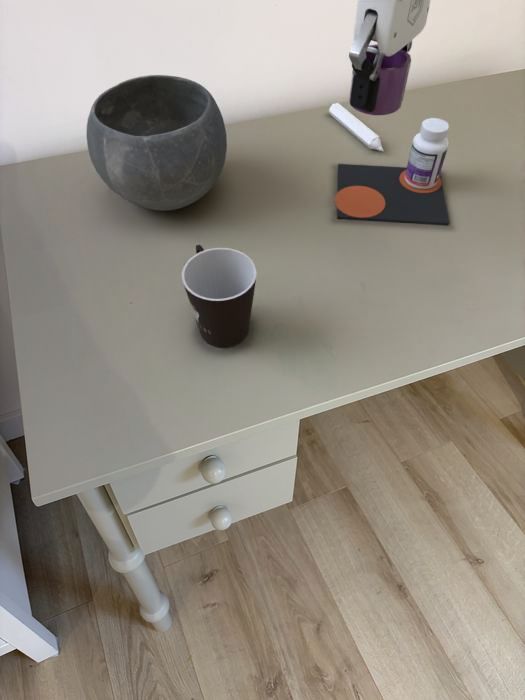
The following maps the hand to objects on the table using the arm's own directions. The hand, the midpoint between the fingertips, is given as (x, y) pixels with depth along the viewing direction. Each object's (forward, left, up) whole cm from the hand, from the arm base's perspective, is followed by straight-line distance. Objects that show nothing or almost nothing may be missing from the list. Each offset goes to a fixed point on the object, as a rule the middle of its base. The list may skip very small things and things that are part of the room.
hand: (376, 94), depth 67 cm
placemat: (-6, -7, -19) cm, 21 cm away
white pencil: (-1, -24, -20) cm, 31 cm away
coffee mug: (+17, +22, -20) cm, 34 cm away
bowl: (+30, -4, -20) cm, 36 cm away
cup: (0, 0, -1) cm, 1 cm away
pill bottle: (-11, -10, -19) cm, 24 cm away
